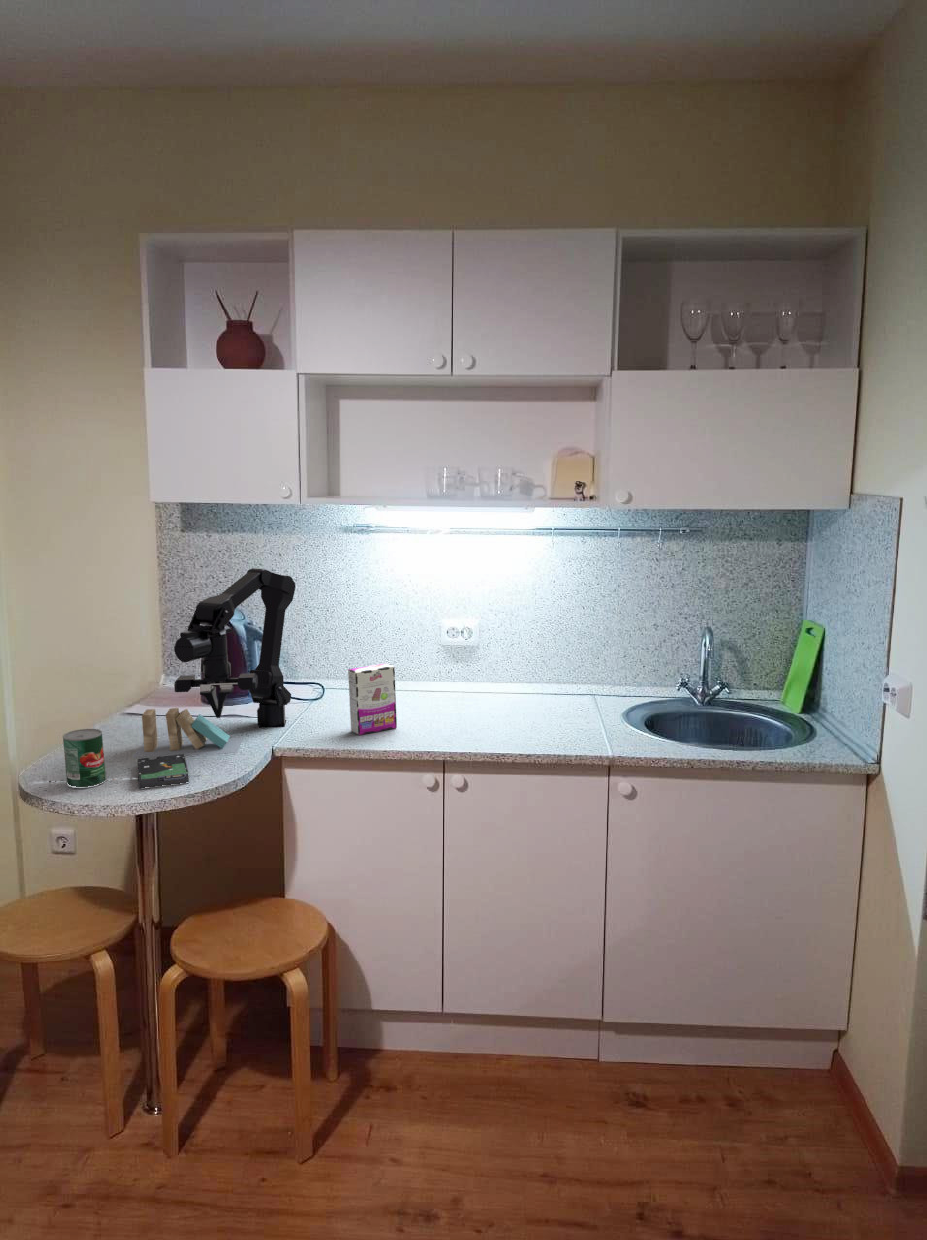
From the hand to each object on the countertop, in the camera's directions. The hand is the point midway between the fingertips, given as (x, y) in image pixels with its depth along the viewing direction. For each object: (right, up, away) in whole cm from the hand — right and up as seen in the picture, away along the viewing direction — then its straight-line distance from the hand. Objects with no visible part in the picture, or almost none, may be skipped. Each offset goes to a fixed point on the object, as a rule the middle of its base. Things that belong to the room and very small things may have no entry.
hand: (218, 717), depth 224 cm
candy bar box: (+36, -5, +15) cm, 39 cm away
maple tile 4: (-16, -7, 0) cm, 18 cm away
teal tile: (+1, -6, +1) cm, 6 cm away
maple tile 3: (-10, -7, 0) cm, 12 cm away
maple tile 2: (-4, -7, +1) cm, 8 cm away
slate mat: (-7, -8, +1) cm, 10 cm away
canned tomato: (-23, -12, -22) cm, 34 cm away
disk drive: (-8, -12, -17) cm, 22 cm away
